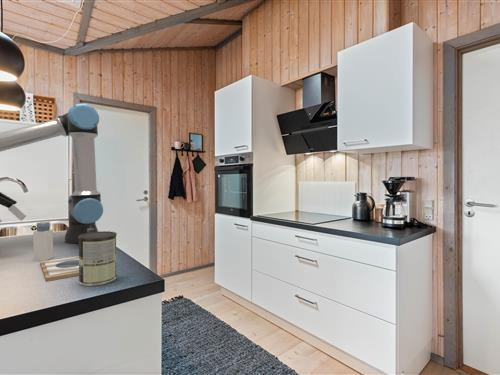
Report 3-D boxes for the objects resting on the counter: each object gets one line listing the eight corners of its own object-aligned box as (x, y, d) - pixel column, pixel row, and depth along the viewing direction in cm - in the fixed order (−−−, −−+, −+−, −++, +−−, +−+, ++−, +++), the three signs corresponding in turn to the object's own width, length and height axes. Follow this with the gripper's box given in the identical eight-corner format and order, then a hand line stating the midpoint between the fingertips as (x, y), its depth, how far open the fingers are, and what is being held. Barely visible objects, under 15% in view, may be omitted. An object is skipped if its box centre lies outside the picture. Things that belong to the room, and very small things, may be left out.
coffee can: (70, 283, 83) (70, 235, 83) (100, 272, 93) (100, 230, 92) (95, 288, 79) (95, 238, 79) (124, 276, 89) (124, 232, 89)
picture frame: (40, 264, 101) (40, 260, 101) (90, 256, 111) (90, 253, 111) (46, 281, 84) (46, 276, 84) (104, 270, 95) (104, 266, 95)
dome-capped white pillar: (40, 257, 110) (40, 222, 109) (53, 257, 110) (52, 221, 110) (33, 261, 105) (33, 223, 105) (46, 260, 106) (46, 223, 106)
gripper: (-15, 186, 115) (25, 222, 118) (-76, 188, 91) (-23, 233, 93) (-1, 174, 116) (39, 210, 118) (-58, 172, 91) (-5, 217, 94)
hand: (12, 220), depth 106 cm, fingers open, 13 cm apart
